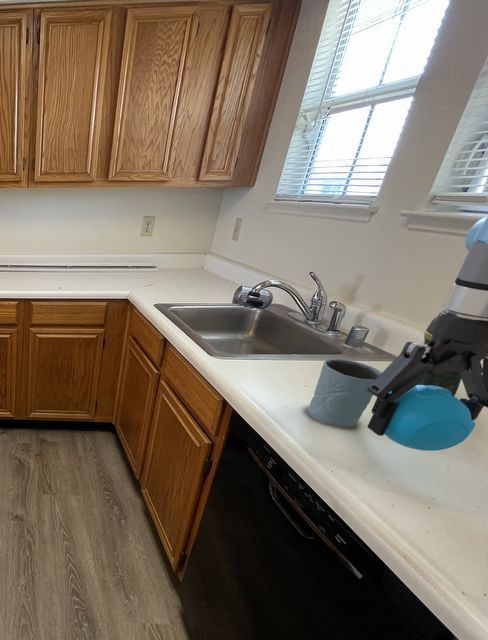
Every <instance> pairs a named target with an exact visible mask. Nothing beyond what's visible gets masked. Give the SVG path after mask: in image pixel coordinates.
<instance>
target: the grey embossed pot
mask: <svg viewBox="0 0 488 640" xmlns="http://www.w3.org/2000/svg"><path fill="white" fill-rule="evenodd" d="M382 372H383V371H381V370H379V369H377V368H375V367H373V366H371V365H368V364H366V363H362V362H359V361H354V360H348V359H341V358H330V359H326V360H324V361H323V364H322V367H321V370H320V374H319V377H318V380H317V383H316V386H315V389H314V393H313V396H312V398H311V400H310V402H309V405H308V406H309V407H308V410H307V412H308V415H309V416H311V417H312V418H313V419H314V420H317V421H318V422H321V423H323V424H326V425H329V426H333V427H336V428H337V427H338V428H353V427H355V426H356V425H357V423H358V422H359V420H360V418H361V417H362V415H363V414H364V412H365V410H366V409H367V407H368V405H369V404H370V402H371V400H372V397H373V396H374V395H373V394H372V393H370V392H369V391H367V388H368V387H369V386H370V385H371V384H372V383H373V382H374V381H375V380H376V379H377V378H378V377H379V375H380V374H381V373H382Z"/></svg>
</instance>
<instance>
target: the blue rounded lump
mask: <svg viewBox="0 0 488 640" xmlns="http://www.w3.org/2000/svg"><path fill="white" fill-rule="evenodd" d="M389 393H392V391H390V392H389ZM394 401H396V402H398V403H399V404H398V406H397V408H396V410H395V412H394V414H393V416H392V418H391V420H390V423H389V425H388V427H387V429H386V431H385V433H384V435H385V436H386V437H387V438H388V439H390V440H391V441H392V442H394V443H396V444H398V445H400V446H402V447H404V448H409V449H411V450H412V449H413V450H417V451H425V452H426V451H429V452H431V451H432V452H433V451H435V452H436V451H442V450H447V449H450V448H452V447H455V446H457V445H459V444H460V443H462V442H464V441H465V440H466V439H467V438H468V437H469V436H470V435H471V434H472V432H473V431H474V429H475V426H476V422H475V420H474V421H472V420H471V413H470V410H469V409H468V408H467V406H466V405H464V404H463V403H462V402H461V401H460V399H459V398H457V397H455V396H452V393H451V392H450V391H449V390H447V389H445V388H442V387H438V386H430V385H426V386H424V385H416V386H415V387H413V388H412V389H410V390H409V391H407V392H406V393H405V394H403V395H402V396H400V397H399V398H397V399H396V400H394Z"/></svg>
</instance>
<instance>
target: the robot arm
mask: <svg viewBox="0 0 488 640" xmlns="http://www.w3.org/2000/svg"><path fill="white" fill-rule="evenodd" d="M464 240H465V242H464V245H465V248H466V249H467V251H468V252H467V254H466V256H465V259H464V261H463V262H462V265H461V267H460V269H459V272H458V274H457V276H456V278H455V280H454V282H453V283H452V286H451V288H450V291H449V292H448V293H447V297H446V298H445V301H444V302H443V304H442V307H443V310H442V311H440V312H439V313H438V315H437V316H436V317H437V319H436V321H435V323H434V325H433V327H432V329H431V332H432V339H431V340H430V341H429V342H428V343H427V344H426V345H424V344H423V343H422V344H421V343H416V342H415V341H411V340H410V341H407V342H406V343H405V344H404V346H403V348H402V350H401V352H400V353H399V355H398V356H397V357H396V358H395V359H394V360H393V361H392V362H391V363H390V364H389V365H388V366H387V367H386V368H385V369H384V370H383V371H381V372H382V373H381V374H380V375H379V377H378V378H377V379H376V380H375V381H374V382H373V383H372V384H371V385H370V386H369V387H368V388H367V391H369V392H370V393H372V394H373V396H375V397H376V399H375V401H374V404H373V406H372V408H371V414H372V415H371V418H370V420H369V422H368V424H367V426H366V427H367V429H369V430H370V431H371V432H373V433H374V434H375V435H377V436H380V437H382V436H384V435H385V434H384V433H385V431H386V429H387V427H388V425H389V423H390V420H391V418H392V416H393V414H394V412H395V410H396V408H397V406H398V404H399V403H398V402H396V401H394V400H396V399H397V398H399V397H400V396H402V395H403V394H405V393H406V392H407V391H409V390H410V389H412V388H413V387H415V386H416V385H417V384H419V383H420V382H422V381H423V380H425V379H426V378H428V377H429V376H431V375H436V374H438V373H439V372H449V371H455V372H459V373H460V376H461V382H462V384H463V388H464V390H465V393H466V396H467V398H465V397H461V398H460V399H459V400H460V401H461V402H462V403H463V404H464V405H466V406H467V408H468V409H469V410H470V413H471V420H472V421H474V422H475V421H476V420H477V419H478V417H479V415H480V413H481V412H482V410H483V409H484V407H485V408H487V409H488V215H486V216H485V217H483V218H481V219H479V220H478V221H477V222H475V223H474V224H473V225H472V226H471V227H470V229H469V230H468V232H467V234H466V236H465V239H464ZM481 361H482V362H481ZM426 363H429V365H430V366H431V367H430V366H428V365H426ZM390 391H392V393H389V392H390Z"/></svg>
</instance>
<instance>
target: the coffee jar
mask: <svg viewBox="0 0 488 640" xmlns="http://www.w3.org/2000/svg"><path fill="white" fill-rule="evenodd" d="M437 317H438V316H435V317H434V318H433V319H432V320H431V322H430V323H429V325H428V326H427V327H426V329H425V330H424V333H423V339H424V340H423V343H422V344H424V345H426V344H427V343H428V342H429V341H430V340H431V339H432V332H431V329H432V327H433V325H434V323H435V321H436V319H437ZM426 365H428V366H430V365H429V363H426ZM430 367H431V366H430ZM461 382H462V379H461V376H460V373H459V372H455V371H449V372H439V373H438V374H436V375H431V376H429V377H428V378H426V379H425V380H423V381H422V382H420V383H419V384H417V385H424V386H426V385H430V386H438V387H442V388H445V389H447V390H449V391H450V392H451V393H452V396H454V397H455V396H456V394H457V393H458V389H459V387H460V384H461Z"/></svg>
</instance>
